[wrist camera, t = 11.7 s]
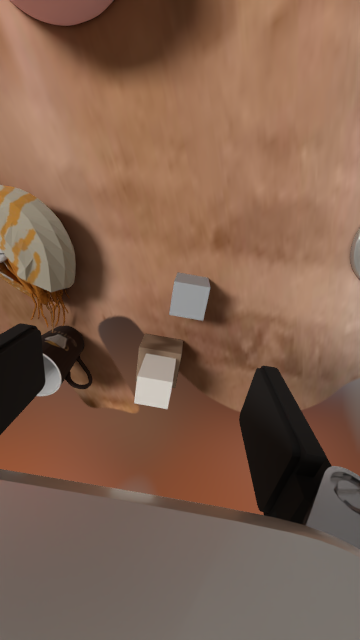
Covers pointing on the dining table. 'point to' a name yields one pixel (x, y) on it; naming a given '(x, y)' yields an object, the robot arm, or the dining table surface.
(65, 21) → the cake
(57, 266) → the nautilus
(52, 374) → the coffee mug
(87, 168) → the dining table surface
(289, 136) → the dining table surface
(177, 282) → the grey block
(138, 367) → the metal block
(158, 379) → the ceramic block
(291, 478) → the robot arm
